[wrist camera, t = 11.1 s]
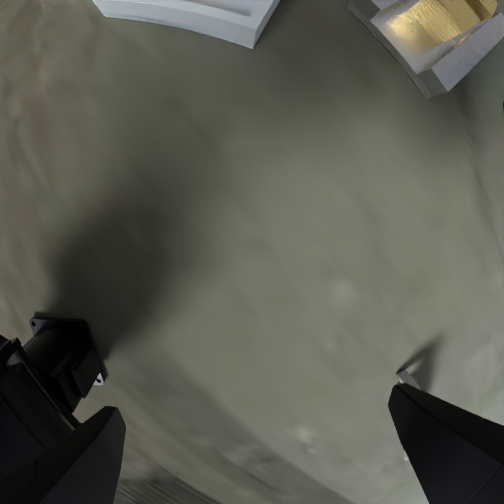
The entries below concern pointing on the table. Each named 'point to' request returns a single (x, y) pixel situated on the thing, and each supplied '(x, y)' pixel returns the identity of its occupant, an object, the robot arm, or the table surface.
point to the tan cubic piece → (444, 18)
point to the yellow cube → (482, 8)
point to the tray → (199, 16)
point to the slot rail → (427, 43)
